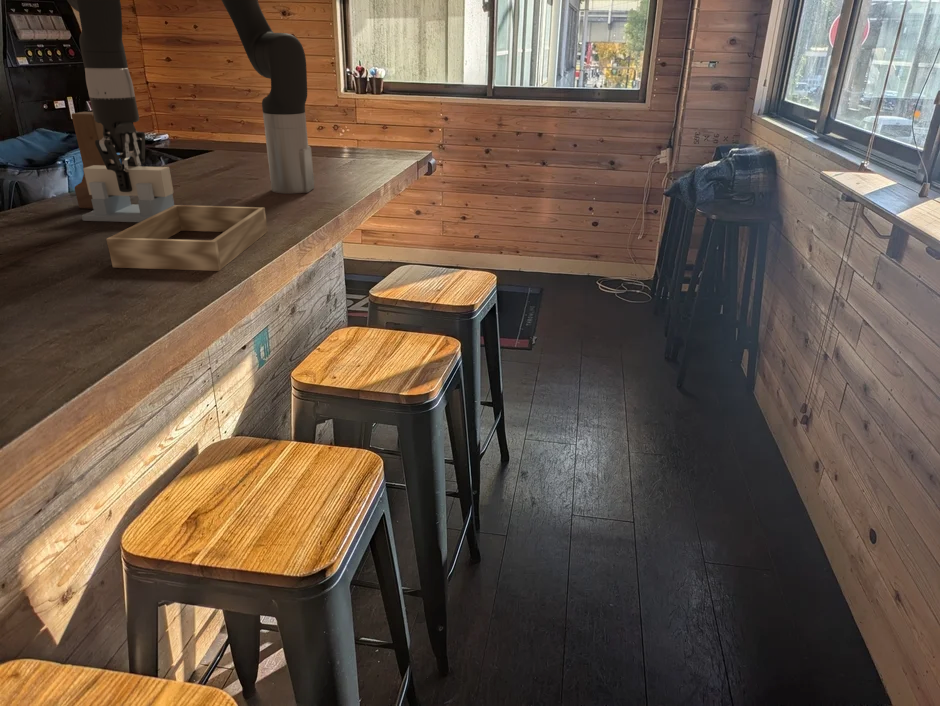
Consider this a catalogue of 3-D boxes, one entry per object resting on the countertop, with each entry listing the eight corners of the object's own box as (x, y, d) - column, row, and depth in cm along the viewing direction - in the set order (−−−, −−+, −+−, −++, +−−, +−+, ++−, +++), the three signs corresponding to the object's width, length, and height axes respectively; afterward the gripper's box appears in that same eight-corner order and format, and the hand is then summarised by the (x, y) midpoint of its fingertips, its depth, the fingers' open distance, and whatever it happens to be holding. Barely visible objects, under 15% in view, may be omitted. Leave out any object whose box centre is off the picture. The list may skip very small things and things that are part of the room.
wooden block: (99, 209, 133) (78, 116, 125) (78, 208, 133) (55, 115, 125) (123, 199, 141) (104, 111, 133) (103, 199, 141) (83, 111, 133)
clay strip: (173, 193, 128) (169, 167, 126) (165, 196, 125) (160, 170, 123) (99, 191, 129) (93, 165, 126) (89, 194, 125) (83, 168, 123)
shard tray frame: (267, 231, 119) (264, 207, 117) (219, 270, 99) (214, 242, 97) (179, 229, 120) (174, 205, 118) (112, 267, 100) (106, 238, 98)
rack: (187, 210, 133) (181, 175, 130) (164, 222, 124) (157, 185, 121) (111, 208, 133) (103, 173, 130) (82, 220, 124) (73, 183, 121)
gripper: (111, 98, 113) (131, 197, 120) (151, 92, 125) (167, 183, 133) (69, 97, 113) (92, 196, 120) (112, 91, 125) (131, 182, 133)
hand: (131, 189), depth 126 cm, fingers closed on clay strip, 3 cm apart
